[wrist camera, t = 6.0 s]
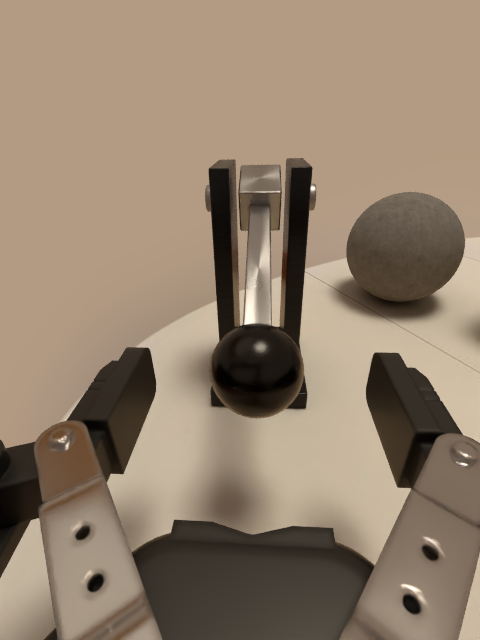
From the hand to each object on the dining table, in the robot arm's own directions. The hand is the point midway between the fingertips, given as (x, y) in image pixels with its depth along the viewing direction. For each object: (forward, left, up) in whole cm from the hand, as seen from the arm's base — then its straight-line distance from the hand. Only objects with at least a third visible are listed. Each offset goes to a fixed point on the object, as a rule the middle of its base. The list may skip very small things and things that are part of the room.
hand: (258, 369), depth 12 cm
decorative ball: (+25, +8, -8) cm, 27 cm away
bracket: (+7, +8, -8) cm, 13 cm away
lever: (+4, +4, 0) cm, 6 cm away
